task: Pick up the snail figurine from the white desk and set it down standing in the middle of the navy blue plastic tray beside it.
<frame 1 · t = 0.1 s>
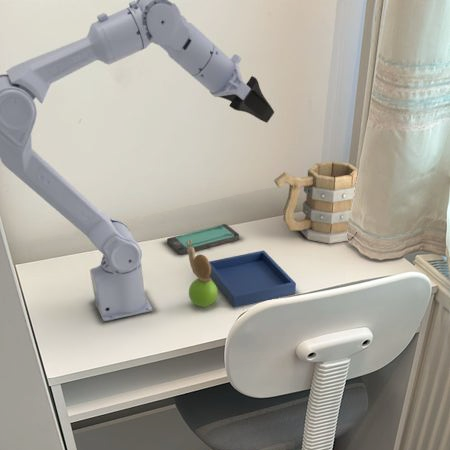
hand: (260, 111, 109), 32 cm above the table, tool tilted 50°, fingers open, 7 cm apart
snail figurine: (202, 304, 122), on the table
tankard: (313, 234, 144), on the table
smartphone: (203, 242, 143), on the table
tray: (249, 282, 128), on the table
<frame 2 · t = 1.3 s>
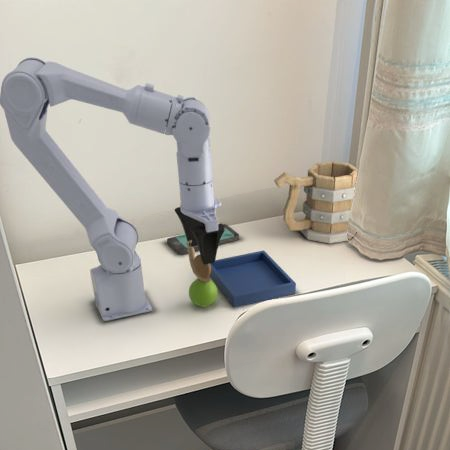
hand: (201, 254, 115), 10 cm above the table, tool pointing down, fingers open, 7 cm apart
nothing on the table moved.
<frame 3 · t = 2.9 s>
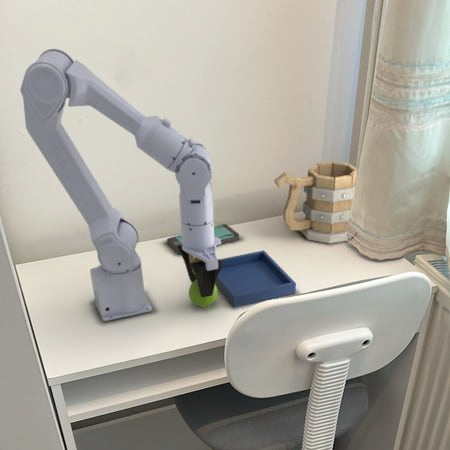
hand: (201, 288, 120), 3 cm above the table, tool pointing down, fingers closed on snail figurine, 5 cm apart
snail figurine: (202, 304, 122), on the table, touching gripper
everything else where it was.
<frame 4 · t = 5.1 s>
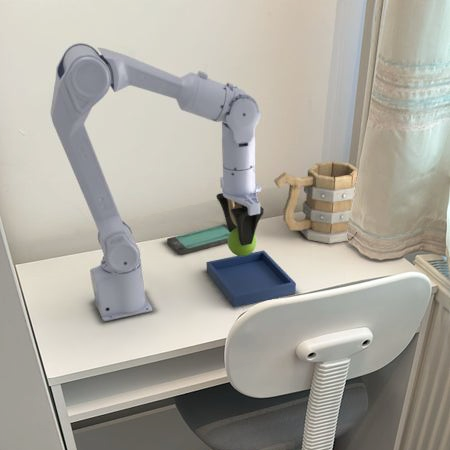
hand: (240, 237, 120), 10 cm above the table, tool pointing down, fingers closed on snail figurine, 5 cm apart
snail figurine: (240, 254, 122), point 7 cm above the table, touching gripper
everything else where it was.
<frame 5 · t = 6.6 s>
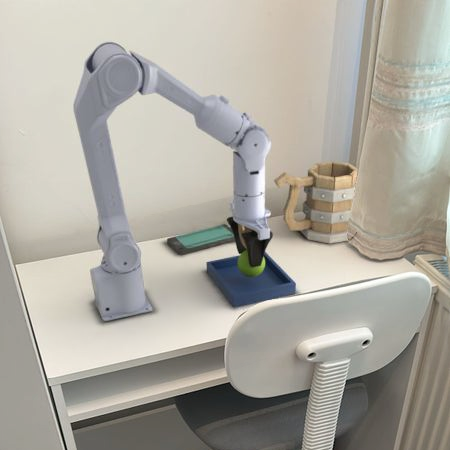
hand: (249, 259, 124), 5 cm above the table, tool pointing down, fingers closed on snail figurine, 5 cm apart
snail figurine: (249, 275, 127), point 2 cm above the table, touching gripper
everything else where it was.
when the fingers open (4 cm above the table, at t = 7.5 s): snail figurine stays where it is, resting on tray.
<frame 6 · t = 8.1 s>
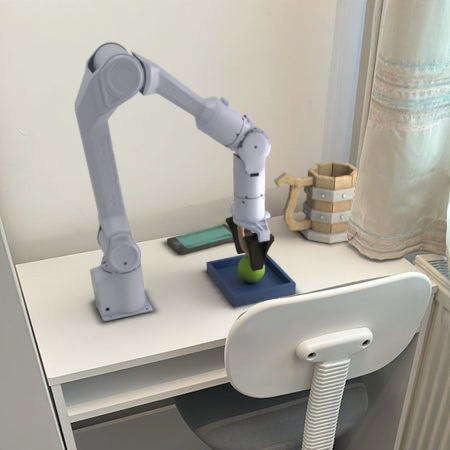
hand: (249, 260, 125), 5 cm above the table, tool pointing down, fingers open, 7 cm apart
snail figurine: (249, 281, 127), resting on tray
everything else where it was.
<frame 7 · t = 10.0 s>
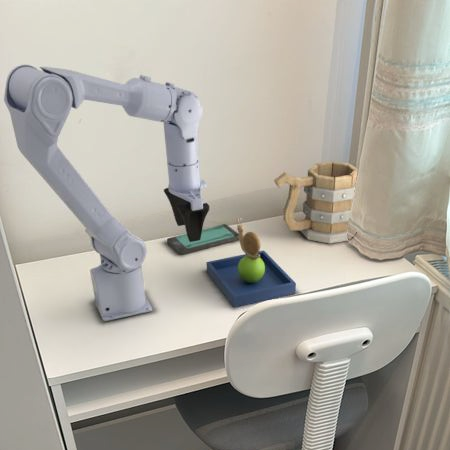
hand: (188, 232, 122), 10 cm above the table, tool pointing down, fingers open, 7 cm apart
nothing on the table moved.
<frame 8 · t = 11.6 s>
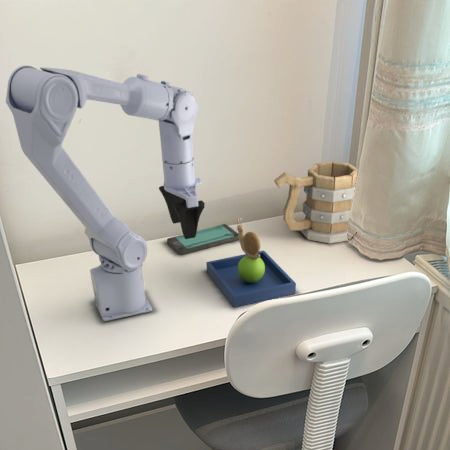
hand: (183, 229, 123), 10 cm above the table, tool pointing down, fingers open, 7 cm apart
nothing on the table moved.
at the end: snail figurine inside the target area in the tray (0.0 cm from its centre), point 0.3 cm above the tray's base; snail figurine tilted 0°; the gripper is holding nothing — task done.
